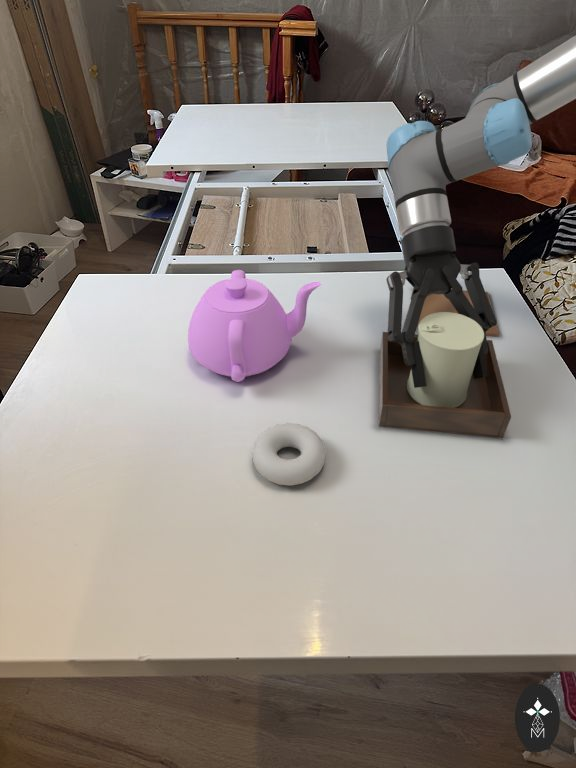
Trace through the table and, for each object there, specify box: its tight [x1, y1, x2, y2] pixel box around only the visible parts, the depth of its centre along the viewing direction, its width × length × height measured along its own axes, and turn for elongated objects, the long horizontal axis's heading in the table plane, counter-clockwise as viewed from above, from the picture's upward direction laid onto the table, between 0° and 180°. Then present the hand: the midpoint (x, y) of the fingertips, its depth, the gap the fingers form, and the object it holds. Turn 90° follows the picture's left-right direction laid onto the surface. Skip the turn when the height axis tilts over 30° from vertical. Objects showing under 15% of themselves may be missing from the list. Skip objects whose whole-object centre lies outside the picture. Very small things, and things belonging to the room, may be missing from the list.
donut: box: [251, 422, 327, 486], centre depth 72 cm, size 10×3×10 cm
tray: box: [378, 331, 512, 439], centre depth 82 cm, size 18×18×4 cm
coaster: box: [417, 289, 500, 338], centre depth 100 cm, size 14×14×1 cm
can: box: [407, 312, 484, 408], centre depth 79 cm, size 9×9×12 cm
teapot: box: [187, 269, 322, 383], centre depth 86 cm, size 22×22×14 cm
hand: (450, 382), depth 78 cm, fingers closed on can, 9 cm apart
